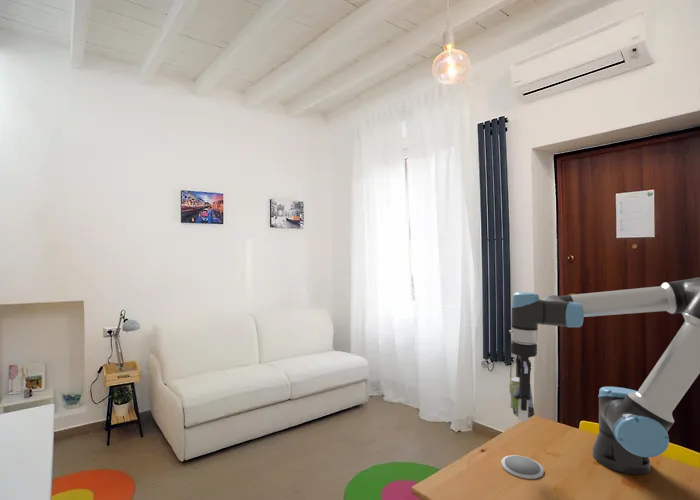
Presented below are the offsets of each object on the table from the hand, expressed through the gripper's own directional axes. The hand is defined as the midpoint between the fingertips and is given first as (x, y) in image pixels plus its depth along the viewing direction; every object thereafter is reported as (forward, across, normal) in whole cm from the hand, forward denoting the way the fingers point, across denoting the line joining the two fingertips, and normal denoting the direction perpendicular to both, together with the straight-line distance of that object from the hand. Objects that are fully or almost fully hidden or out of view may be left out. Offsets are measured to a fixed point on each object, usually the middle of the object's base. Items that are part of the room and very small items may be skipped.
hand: (521, 415), depth 121 cm
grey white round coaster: (+16, +2, 0) cm, 16 cm away
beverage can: (+1, 0, 0) cm, 1 cm away
